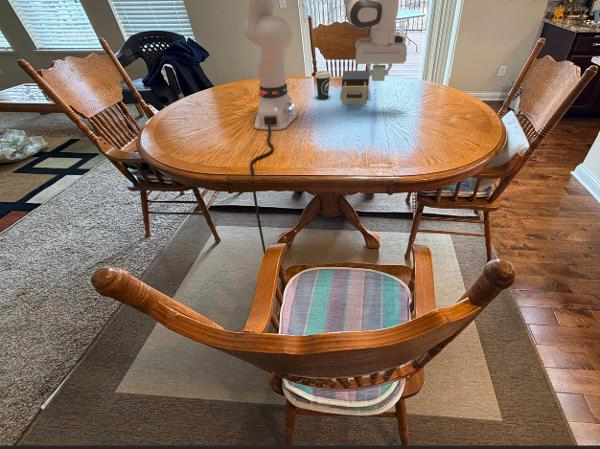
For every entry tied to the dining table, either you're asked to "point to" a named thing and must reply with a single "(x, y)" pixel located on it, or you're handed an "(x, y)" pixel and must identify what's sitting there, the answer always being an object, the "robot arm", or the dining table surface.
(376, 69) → the block
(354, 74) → the cabinet
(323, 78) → the coffee cup
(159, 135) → the dining table surface
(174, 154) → the dining table surface
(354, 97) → the drawer
